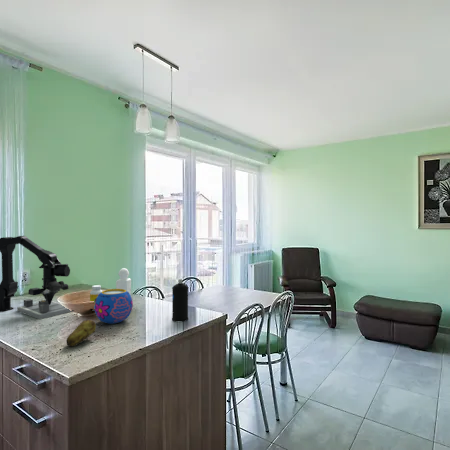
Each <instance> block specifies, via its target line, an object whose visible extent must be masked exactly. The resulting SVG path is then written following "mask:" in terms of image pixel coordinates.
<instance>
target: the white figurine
mask: <svg viewBox="0 0 450 450" xmlns="http://www.w3.org/2000/svg"><path fill="white" fill-rule="evenodd" d="M117 274H118V276H119V279H117V280H116V281H115V289H124V290H126V291H128V292H129V294H130V295H131V296H132V278H130V277H129V275H130V272H129V270H128V268H125V267H122V268H121V269H119V271H118V273H117Z"/></svg>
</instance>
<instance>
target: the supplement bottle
mask: <svg viewBox="0 0 450 450" xmlns="http://www.w3.org/2000/svg"><path fill="white" fill-rule="evenodd" d="M102 291H103V290H102V286H101V284H96V285H95V284H94V285H92V286H91V290H90V292H89V302H90V301H95V299H96V298H97V296H98V295H99V294H100V293H101V292H102Z"/></svg>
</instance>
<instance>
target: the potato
mask: <svg viewBox="0 0 450 450" xmlns="http://www.w3.org/2000/svg"><path fill="white" fill-rule="evenodd" d="M96 329H97V323H96V322H95V321H94V320H91V319H86V320H83V321H82V322H81V323H80V324H79V325H77V326H76V328H75V329H73V331H72V332H71V333H70V334H69V335H68V336H67V338H66V345H67V346H68V347H71V348H72V347H75V346H77V345H79V344H80V343H83V342H84V341H86V340H87V339H88V337H90V336H91V335H92V334H94V333H95V332H96Z"/></svg>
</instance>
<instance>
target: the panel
mask: <svg viewBox="0 0 450 450" xmlns="http://www.w3.org/2000/svg"><path fill="white" fill-rule="evenodd" d="M60 303H61V302H58V301H55V300H52V302H51V304H50V305H47V304H43V305H39V302H37V303H34V301H33V299H31V298H28V299H23V305H20V306H17V309H16V310H17V312H19V313H22V314H25V315H27V316H30V317H32V318H35V319H38V320H42V319H46V318H50V317H53V316H54V317H55V316H59V315H62V314H67V313H70V312H71V311H70V310H69V309H67V308H65V307H64V306H62V305H61V304H60Z"/></svg>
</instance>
